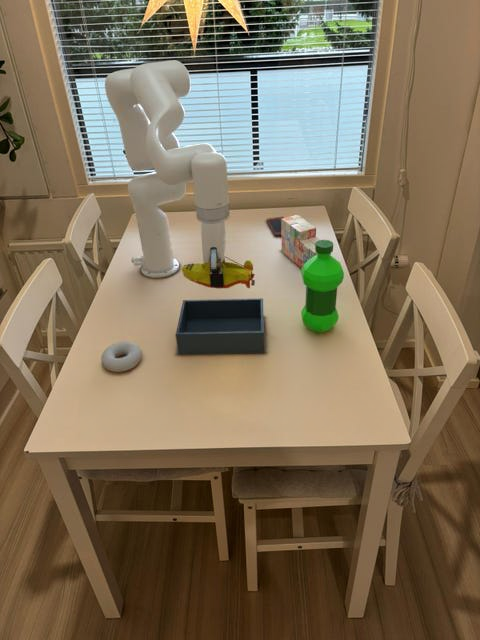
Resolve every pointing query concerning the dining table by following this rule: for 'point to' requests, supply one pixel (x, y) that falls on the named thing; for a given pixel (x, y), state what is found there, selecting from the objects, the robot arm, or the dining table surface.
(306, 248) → the stack of blocks
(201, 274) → the yellow toy submarine
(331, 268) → the plastic bottle
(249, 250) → the dining table surface
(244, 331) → the tote
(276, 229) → the smartphone
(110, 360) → the donut
